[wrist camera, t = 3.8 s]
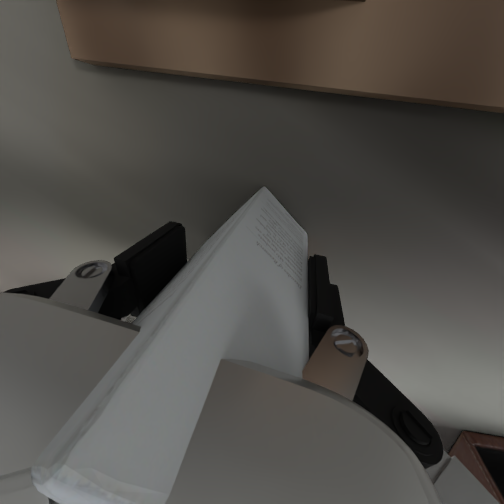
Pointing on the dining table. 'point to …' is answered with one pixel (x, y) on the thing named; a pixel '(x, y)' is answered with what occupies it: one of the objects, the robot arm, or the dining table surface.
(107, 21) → the box stand
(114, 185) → the dining table surface
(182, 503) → the robot arm
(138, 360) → the skincare box
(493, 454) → the letter holder
